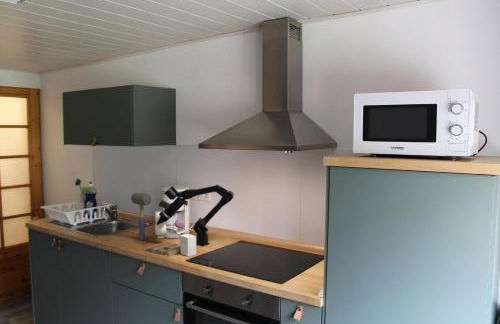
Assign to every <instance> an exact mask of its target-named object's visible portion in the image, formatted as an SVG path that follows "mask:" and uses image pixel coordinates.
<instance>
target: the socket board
mask: <svg viewBox="0 0 500 324" xmlns="http://www.w3.org/2000/svg"><path fill="white" fill-rule="evenodd" d="M145 249H146V252H148V251H149V253H152V252H154V253H153V254H157V253H158V254H157V255H161V254H163V256H165V255H167V256H166V257H171V256H174V255H176V254H177V255H178V254H181V252H180V244H176V243H172V242H167V241H164V242H161V243H158V244H154V245H151V246H147V247H146V248H145ZM170 255H171V256H170Z"/></svg>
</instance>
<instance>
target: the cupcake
mask: <svg viewBox="0 0 500 324" xmlns="http://www.w3.org/2000/svg"><path fill="white" fill-rule="evenodd" d="M178 219H179V220H178ZM178 219H176V220H175V221H174V222H175V223H173V224H174V225H175V226H176V227H178V228H182V227H183V226H184V223H183V220H184V219H183V220H182V218H178ZM174 225H173V226H174Z"/></svg>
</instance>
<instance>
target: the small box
mask: <svg viewBox="0 0 500 324" xmlns="http://www.w3.org/2000/svg"><path fill="white" fill-rule="evenodd" d="M179 238H180V239H179V245H180V254H181V255H183V256H186V257H191V256H192V257H193V256H196V255H197V245H196V243H197V235H193V234H191V233H187V234H186V233H184V234H179Z"/></svg>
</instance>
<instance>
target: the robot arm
mask: <svg viewBox="0 0 500 324" xmlns="http://www.w3.org/2000/svg"><path fill="white" fill-rule="evenodd" d="M212 193H217V194H218V195H219V196H220V197H221V198H220V199H219V201H218V202H217V203H216V204H215V205H214V207H212V208H211V210H209V212H208V213H207V214H206V215H205V216H203V218H202V217H199V218H198V219H197V220H196V221H195V222H194V225H193V231H194V232H195V233H196V246H201V247H206V246H207V245H210V242H209V233H208V231H209V228H208V227H207V224H208V223H209V222H210V220H211V219H213V218H214V216H215V215H216V214H217V213H218V212H219V211H221V209H222V208H223V207H224V206H225V205H227V204H228V203H230V202H231V201H233V199H234V197H235V193H234V192H233V191H232V190H228V189H226V188H224V187H223V186H221V185H219V184H215V185H210V186H206V187H201V188H186V189H184V190H182V191H178V190H177V189H176V188H175V186H173V185H172V186H170V187H169V188H168V189H166V191H165V192H164V193H163V194H164V195H165V196H166V197H167V198H168V199H169V200H170V201H171V200H173V201H172V202H171V203H169V202H167V201H165V200H160V201H159V202H158V207H159V208H163V210H161V211H162V212H161V213H160V214H159V215H160V218H159V220H158V222H157V223H156V222H155V224H157V225H159V224H161V223H163V222H166V223H167V222H168V221H169V220H170V219H172V217H174V216H176V214H177V212H178V211H179V210H180V209H182V207H183V206H185V207H186V206H188V205H189V201H188V200H189V199H193V198H194V197H197V196H201V195H206V194H212Z"/></svg>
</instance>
